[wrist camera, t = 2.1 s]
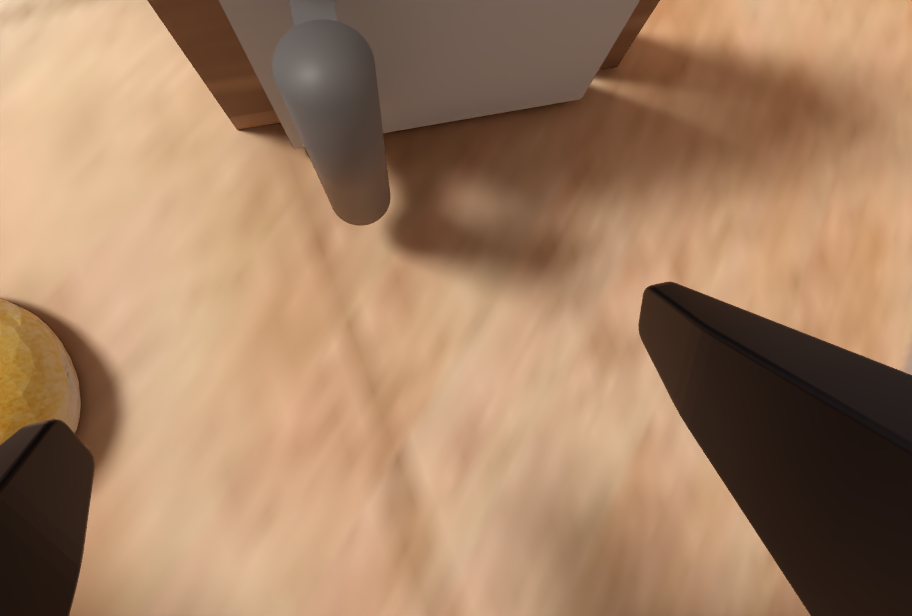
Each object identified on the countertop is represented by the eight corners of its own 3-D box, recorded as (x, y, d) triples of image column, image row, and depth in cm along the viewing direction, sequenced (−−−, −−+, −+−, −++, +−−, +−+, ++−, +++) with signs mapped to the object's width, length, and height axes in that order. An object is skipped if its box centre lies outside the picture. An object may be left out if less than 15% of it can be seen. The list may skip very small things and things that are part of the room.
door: (607, 193, 22) (931, -123, 8) (313, 250, 21) (115, -15, 7) (574, 74, 23) (824, -403, 9) (288, 121, 21) (62, -356, 8)
